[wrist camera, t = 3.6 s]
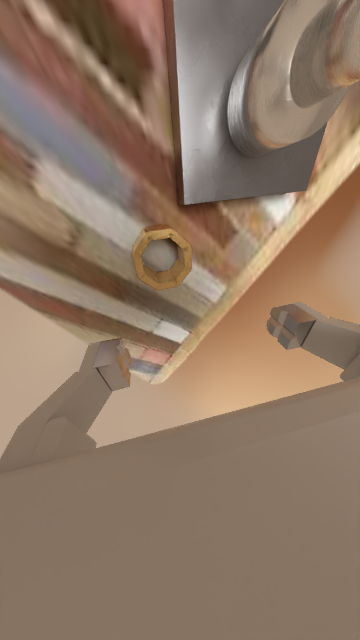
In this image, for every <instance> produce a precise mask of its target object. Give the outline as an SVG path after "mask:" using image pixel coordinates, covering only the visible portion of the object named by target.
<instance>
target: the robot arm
mask: <svg viewBox="0 0 360 640" xmlns="http://www.w3.org/2000/svg"><path fill="white" fill-rule="evenodd" d="M270 315H271V317H270V318H269V320H268V322H267V329H268V331H269V333H270V334H271V335H272V336H274V337H276V338H278V342H279V343H280V344H281V345H282V346H283V347H284V348H285V349H286V350H288V349H293V348H298V347H301V348H303V349H305V350H307V351H309V352H311V353H313V354H315V355H316V356H319V357H320V358H323V359H324V360H326V361H328V362H330V363H332V364H334V365H336V366H338V367H340V368H342V369H344V371H343V372H342V373H341V375H340V378H341V379H342V380H344V382H340V383H336V384H333V385H329V386H325V387H321V388H318V389H314V390H310V391H307V392H303V393H299V394H295V395H292V396H288V397H284V398H280V399H277V400H273V401H269V402H266V403H262V404H258V405H255V406H251V407H247V408H243V409H240V410H236V411H232V412H229V413H225V414H222V415H218V416H214V417H210V418H206V419H203V420H199V421H195V422H192V423H188V424H184V425H181V426H177V427H173V428H169V429H166V430H162V431H158V432H155V433H151V434H147V435H144V436H140V437H136V438H133V439H129V440H125V441H121V442H118V443H114V444H110V445H107V446H103V447H99V448H96V442H95V441H94V440H93V439H92V438H91V437H90V436H88V435H87V434H86V433H87V431H88V430H89V428H90V427H91V425H92V423H93V422H94V420H95V419H96V417H97V415H98V414H99V412H100V411H101V409H102V407H103V406H104V404H105V403H106V401H107V399H108V398H109V396H110V395H111V393H112V391H115V390H118V389H122V388H126V387H129V386H130V375H131V374H130V372H129V369H130V368H131V357H130V353H129V350H128V349H127V348H125V344H126V343H125V341H124V339H123V338H117V339H112V340H106V341H101V342H96V343H91V344H90V345H89V346H88V348H87V351H86V354H85V356H84V359H83V362H82V364H81V367H80V370H79V372H75V373H74V374H73V375H72V376H71V377H70V378H69V379H68V380H67V381H66V382H65V383H64V384H62V385H61V386H60V387H59V388H58V389H57V390H56V391H55V392H54V393H53V394H52V395H51V396H50V397H49V398H48V399H47V400H46V401H44V402H43V403H42V404H41V405H40V406H39V407H38V408H37V409H36V410H35V411H34V412H33V413H32V414H31V415H30V416H29V417H28V418H26V419H25V420H24V422H22V423H21V424H20V425H19V426H18V428H17V429H16V431H15V433H14V435H13V437H12V438H11V440H10V442H9V444H8V446H7V448H6V449H5V451H4V453H3V455H2V457H1V459H0V640H360V325H359V324H355V323H351V322H347V321H344V320H340V319H336V318H332V317H329V318H328V317H326V316H324V315H323V314H321V313H319V312H318V311H316V310H314V309H313V308H311V307H309V306H308V305H306V304H304V303H302V302H297V303H292V304H288V305H283V306H279V307H274V308H273V309H272V310H271V312H270Z"/></svg>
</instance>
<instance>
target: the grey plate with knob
mask: <svg viewBox="0 0 360 640" xmlns="http://www.w3.org/2000/svg"><path fill="white" fill-rule="evenodd" d="M163 7H164V21H165V34H166V47H167V60H168V74H169V87H170V100H171V114H172V127H173V140H174V153H175V167H176V180H177V193H178V204H181V205H186V204H195V203H203V202H212V201H220V200H229V199H238V198H246V197H255V196H264V195H272V194H281V193H290V192H298V191H306V189H307V186H308V183H309V180H310V177H311V173H312V170H313V167H314V164H315V161H316V157H317V154H318V151H319V148H320V145H321V141H322V138H323V135H324V132H325V128H326V125H327V122H328V120H329V119H330V118H331V116H332V115H333V114H334V112H335V111H336V109H337V108H338V106H339V105H340V103H341V102H342V100H343V98H344V96H345V94H346V92H347V91H348V89H349V87H350V85H351V84H353V83H355V82H357V81H359V80H360V0H163Z"/></svg>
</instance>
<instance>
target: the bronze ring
mask: <svg viewBox="0 0 360 640" xmlns="http://www.w3.org/2000/svg"><path fill="white" fill-rule="evenodd" d="M165 238H171V239H172V240H173V241H174V242H176V243H177V251H178V259H177V261H176V262H175V263H174V265H173V266H172V267H171V269H170V270H167V271H161V272H154V271H153V270H151V269H150V268H148V267H147V266H146V265H144V264H143V260H142V256H141V255H142V254H143V252H144V251H145V249H146V248H147V246H148V244H149V243H150V241H151V240H157V239H165ZM132 256H133V259H134V263H135V267H136V271H137V275H138V278H139V279H140V280H142V281H143V282H145V283H146V284H148V285H150V286H151V287H153V288H155V289H156V290H157V289H158V290H162V289H167V288H173V287H178V286H179V285H180V284H181V282H182V281H183V280H184V279H185V277H186V276H187V275H188V274H189V272H190V271H191V269H192V259H191V246H190V244H189V243H187V242H186V241H185V240H184V239H183V238H182V237H181V236H180V235H179V234H178V233H177V232H176V231H174V230H173V229H172V228H171V227H169V226H168V225H166V224H165V225H157V226H150V227H145V228H144V229H143V230H142V232H141V234H140V235H139V237H138V239H137V240H136V242H135V243H134V245H133V254H132Z"/></svg>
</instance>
